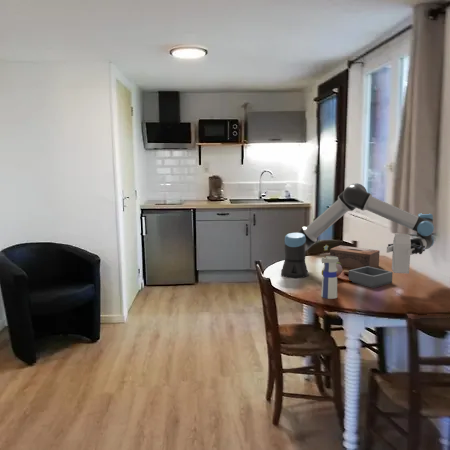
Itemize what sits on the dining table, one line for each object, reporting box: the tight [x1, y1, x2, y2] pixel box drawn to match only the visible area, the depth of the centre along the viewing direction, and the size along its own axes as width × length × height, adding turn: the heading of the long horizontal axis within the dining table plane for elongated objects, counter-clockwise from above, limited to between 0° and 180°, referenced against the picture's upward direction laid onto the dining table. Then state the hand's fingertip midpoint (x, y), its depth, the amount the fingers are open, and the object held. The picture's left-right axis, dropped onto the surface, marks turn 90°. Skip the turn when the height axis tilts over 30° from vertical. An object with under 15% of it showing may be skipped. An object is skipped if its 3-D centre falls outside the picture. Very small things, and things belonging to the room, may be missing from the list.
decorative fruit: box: [336, 262, 343, 278], centre depth 254 cm, size 9×8×10 cm
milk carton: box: [391, 233, 411, 274], centre depth 227 cm, size 7×7×19 cm
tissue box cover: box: [329, 245, 381, 269], centre depth 284 cm, size 26×14×10 cm, turn 50°
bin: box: [347, 266, 394, 289], centre depth 246 cm, size 16×16×6 cm
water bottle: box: [320, 244, 339, 300], centre depth 220 cm, size 8×9×25 cm
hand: (397, 251), depth 224 cm, fingers closed on milk carton, 10 cm apart
